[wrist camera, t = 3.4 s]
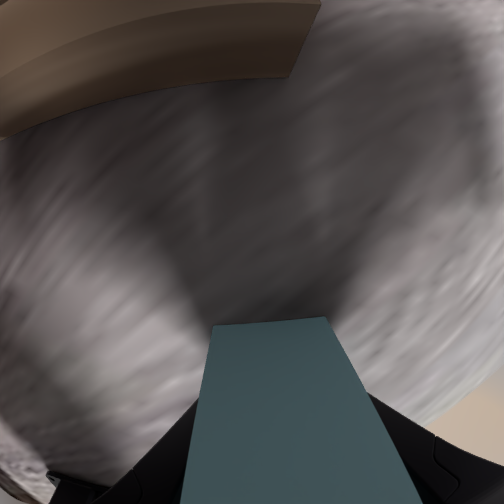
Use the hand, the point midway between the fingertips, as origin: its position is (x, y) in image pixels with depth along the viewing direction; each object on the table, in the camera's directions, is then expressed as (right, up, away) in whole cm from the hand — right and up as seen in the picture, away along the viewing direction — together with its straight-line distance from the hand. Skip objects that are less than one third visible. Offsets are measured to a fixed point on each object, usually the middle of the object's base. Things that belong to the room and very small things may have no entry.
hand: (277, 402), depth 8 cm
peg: (0, 0, +2) cm, 2 cm away
